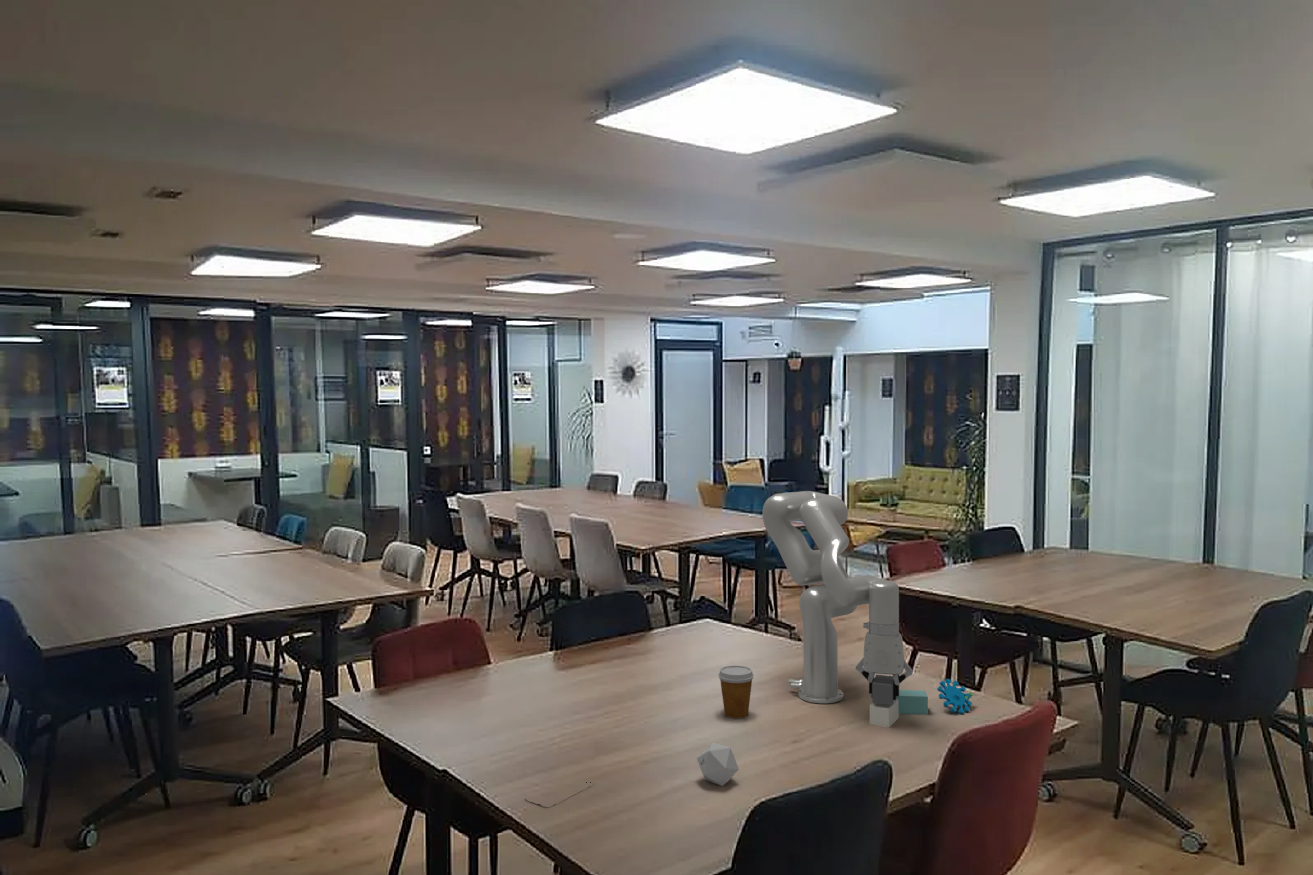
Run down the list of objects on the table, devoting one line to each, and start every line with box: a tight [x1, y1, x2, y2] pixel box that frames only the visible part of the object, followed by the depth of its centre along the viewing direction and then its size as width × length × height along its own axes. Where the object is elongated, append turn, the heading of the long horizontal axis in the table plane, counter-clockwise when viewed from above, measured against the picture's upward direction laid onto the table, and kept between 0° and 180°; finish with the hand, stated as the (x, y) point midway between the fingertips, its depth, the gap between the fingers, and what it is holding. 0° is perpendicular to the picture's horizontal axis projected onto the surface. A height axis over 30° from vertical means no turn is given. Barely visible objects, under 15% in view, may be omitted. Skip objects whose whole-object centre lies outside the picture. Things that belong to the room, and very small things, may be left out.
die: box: [696, 742, 740, 787], centre depth 201 cm, size 8×9×10 cm
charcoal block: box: [871, 674, 894, 705], centre depth 236 cm, size 8×5×5 cm, turn 159°
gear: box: [936, 678, 974, 715], centre depth 245 cm, size 11×6×10 cm
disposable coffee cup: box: [717, 665, 755, 719], centre depth 242 cm, size 10×10×12 cm
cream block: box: [869, 700, 900, 729], centre depth 236 cm, size 8×5×5 cm, turn 147°
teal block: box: [896, 689, 929, 716], centre depth 243 cm, size 8×5×5 cm, turn 83°
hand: (884, 696), depth 236 cm, fingers closed on charcoal block, 4 cm apart
